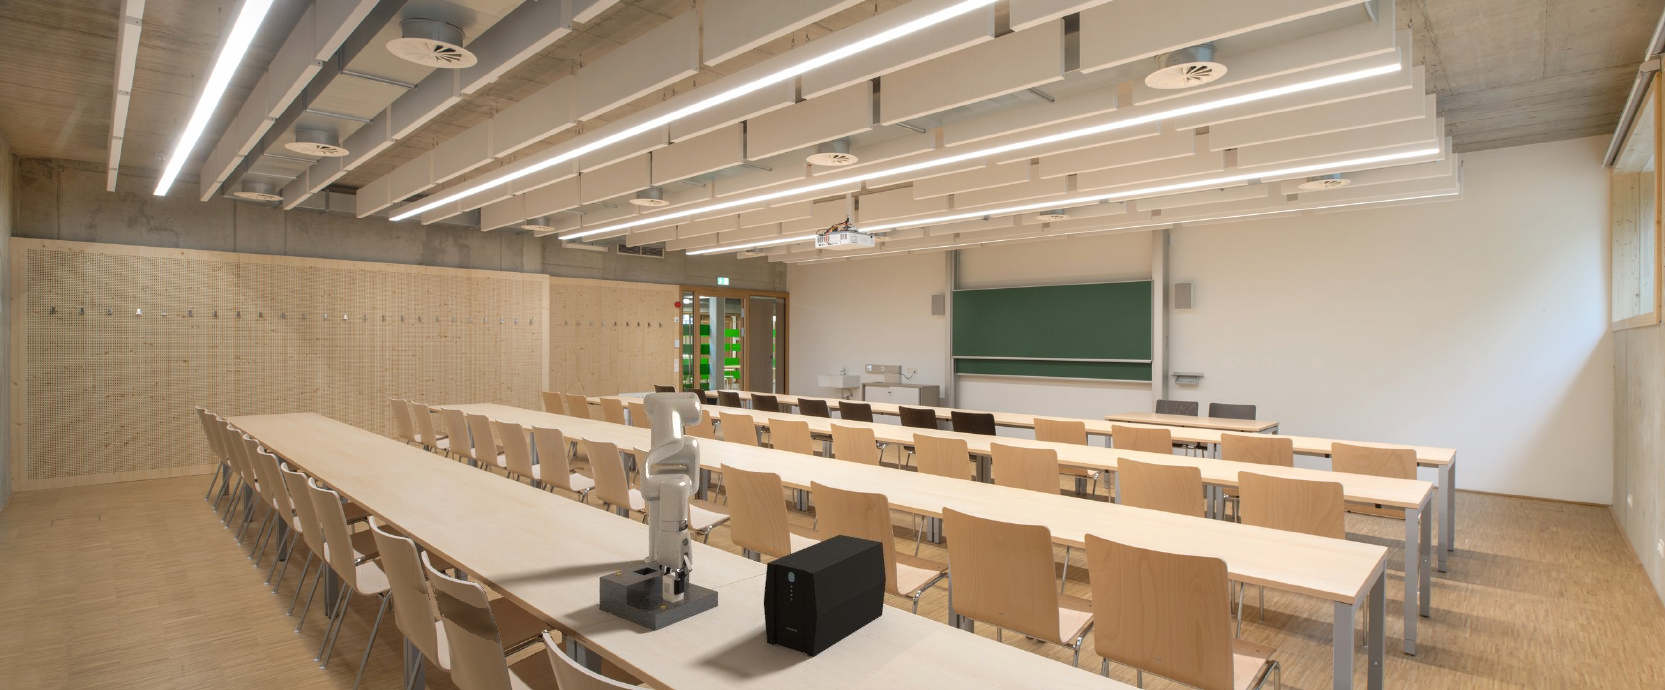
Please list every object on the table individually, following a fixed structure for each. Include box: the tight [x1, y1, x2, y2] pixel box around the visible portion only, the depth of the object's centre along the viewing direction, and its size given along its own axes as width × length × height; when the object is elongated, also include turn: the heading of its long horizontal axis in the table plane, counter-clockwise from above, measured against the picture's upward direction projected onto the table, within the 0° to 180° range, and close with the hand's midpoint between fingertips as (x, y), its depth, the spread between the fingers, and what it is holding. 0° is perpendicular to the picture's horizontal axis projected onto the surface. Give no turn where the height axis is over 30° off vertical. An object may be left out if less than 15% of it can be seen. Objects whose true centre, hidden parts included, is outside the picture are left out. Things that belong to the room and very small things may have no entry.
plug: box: [663, 572, 684, 603], centre depth 200 cm, size 4×4×8 cm
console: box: [599, 560, 719, 631], centre depth 204 cm, size 22×24×9 cm
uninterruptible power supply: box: [763, 534, 887, 658], centre depth 191 cm, size 16×34×20 cm, turn 146°
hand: (673, 590), depth 201 cm, fingers closed on plug, 4 cm apart
